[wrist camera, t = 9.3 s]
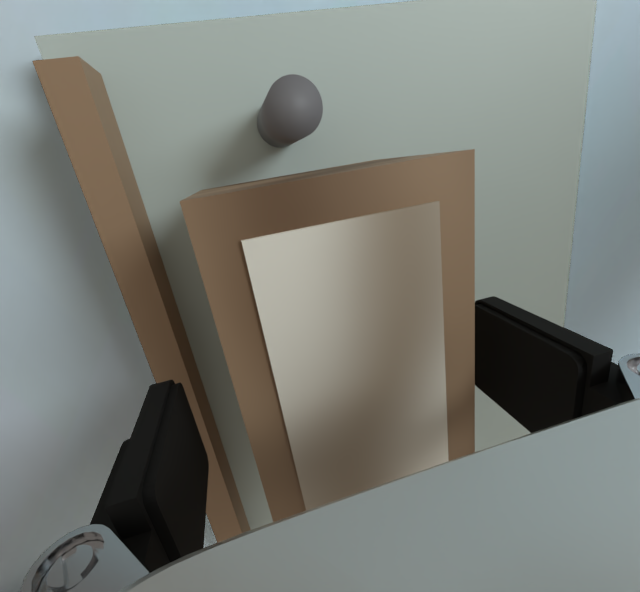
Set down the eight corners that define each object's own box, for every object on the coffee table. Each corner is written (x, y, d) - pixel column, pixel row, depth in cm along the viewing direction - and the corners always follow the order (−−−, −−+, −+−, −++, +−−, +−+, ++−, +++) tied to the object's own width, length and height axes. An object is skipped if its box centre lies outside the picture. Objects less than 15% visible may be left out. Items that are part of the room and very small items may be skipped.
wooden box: (374, 159, 12) (477, 148, 7) (400, 428, 17) (476, 541, 12) (201, 189, 11) (178, 201, 6) (275, 467, 16) (298, 610, 11)
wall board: (568, -1, 13) (705, -73, 10) (534, 432, 21) (604, 490, 17) (54, 51, 10) (-49, -23, 7) (230, 535, 18) (230, 635, 14)
